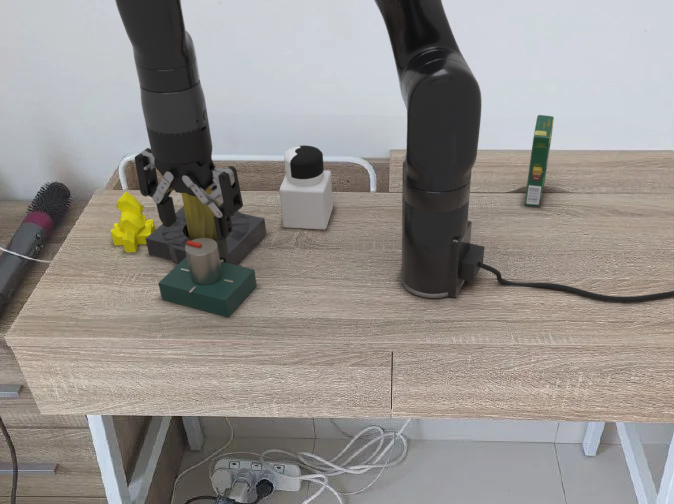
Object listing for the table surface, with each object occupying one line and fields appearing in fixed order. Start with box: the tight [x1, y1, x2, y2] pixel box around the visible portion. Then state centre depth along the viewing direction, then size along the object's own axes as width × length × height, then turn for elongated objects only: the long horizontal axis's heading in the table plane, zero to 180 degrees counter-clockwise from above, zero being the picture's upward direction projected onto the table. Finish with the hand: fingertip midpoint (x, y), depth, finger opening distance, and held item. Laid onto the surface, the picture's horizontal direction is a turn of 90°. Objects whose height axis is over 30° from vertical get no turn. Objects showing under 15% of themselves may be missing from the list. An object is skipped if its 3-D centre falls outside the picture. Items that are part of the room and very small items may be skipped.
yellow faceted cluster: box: [110, 191, 157, 254], centre depth 122 cm, size 6×8×8 cm
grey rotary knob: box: [185, 238, 222, 285], centre depth 110 cm, size 4×4×5 cm
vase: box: [181, 179, 220, 240], centre depth 118 cm, size 6×6×14 cm
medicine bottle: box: [278, 144, 334, 231], centre depth 125 cm, size 7×7×12 cm
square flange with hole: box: [145, 205, 267, 265], centre depth 122 cm, size 14×13×3 cm
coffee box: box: [524, 114, 555, 208], centre depth 131 cm, size 8×3×13 cm, turn 167°
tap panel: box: [157, 257, 258, 318], centre depth 112 cm, size 11×9×3 cm
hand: (197, 230), depth 106 cm, fingers open, 8 cm apart
